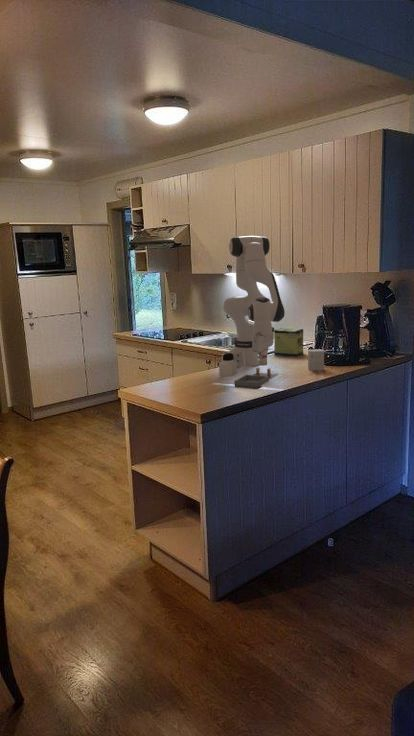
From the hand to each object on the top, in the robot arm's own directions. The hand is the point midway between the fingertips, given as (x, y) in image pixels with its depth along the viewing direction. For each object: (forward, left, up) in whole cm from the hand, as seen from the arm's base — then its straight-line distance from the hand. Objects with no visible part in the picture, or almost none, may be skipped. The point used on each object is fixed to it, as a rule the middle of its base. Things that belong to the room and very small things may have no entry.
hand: (263, 357), depth 264 cm
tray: (0, -15, -10) cm, 18 cm away
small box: (+19, +28, -11) cm, 35 cm away
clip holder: (0, 0, -10) cm, 10 cm away
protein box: (-9, +65, -11) cm, 66 cm away
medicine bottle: (-19, -2, -11) cm, 22 cm away
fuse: (0, 0, -4) cm, 4 cm away
